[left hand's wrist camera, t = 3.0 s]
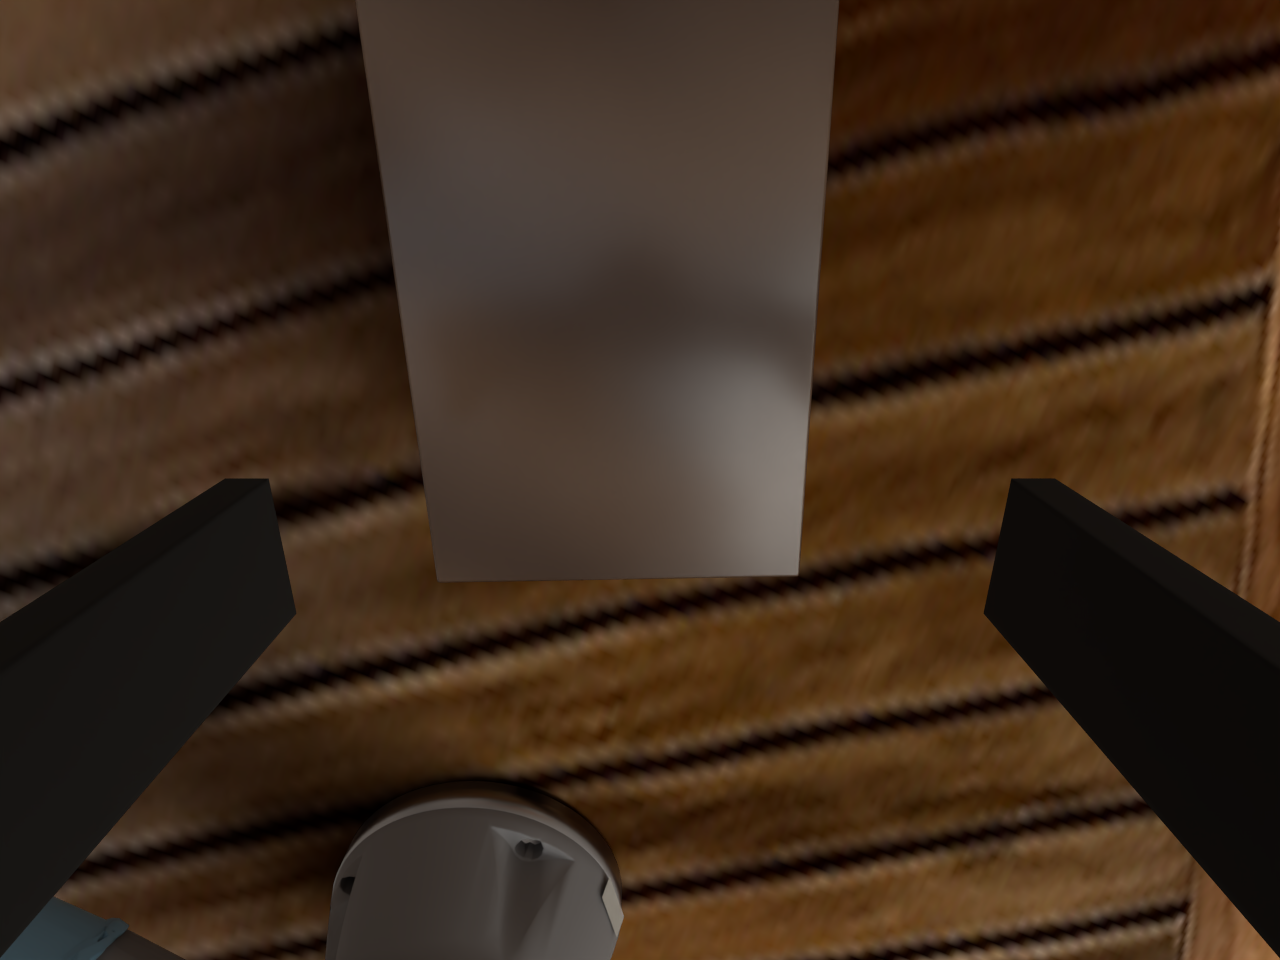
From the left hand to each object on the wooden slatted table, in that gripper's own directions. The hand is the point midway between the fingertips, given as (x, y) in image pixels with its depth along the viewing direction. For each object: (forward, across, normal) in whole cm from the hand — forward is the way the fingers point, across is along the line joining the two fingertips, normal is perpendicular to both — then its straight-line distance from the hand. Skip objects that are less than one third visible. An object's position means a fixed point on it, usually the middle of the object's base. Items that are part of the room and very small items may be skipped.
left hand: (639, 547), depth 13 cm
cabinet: (+17, +1, -4) cm, 17 cm away
